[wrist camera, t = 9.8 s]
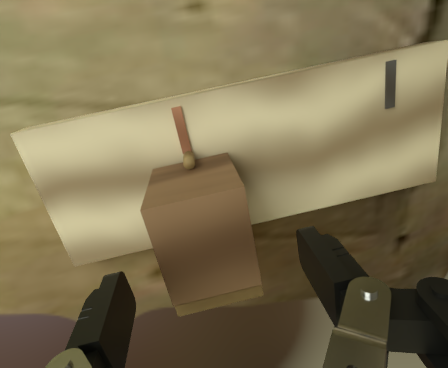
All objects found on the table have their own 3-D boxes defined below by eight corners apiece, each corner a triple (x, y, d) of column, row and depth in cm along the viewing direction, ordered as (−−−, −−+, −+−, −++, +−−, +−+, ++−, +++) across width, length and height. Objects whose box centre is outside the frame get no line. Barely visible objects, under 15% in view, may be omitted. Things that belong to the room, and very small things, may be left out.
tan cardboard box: (151, 153, 20) (135, 196, 13) (222, 137, 20) (241, 171, 14) (179, 247, 23) (178, 321, 16) (241, 232, 23) (265, 299, 17)
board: (26, 127, 19) (8, 134, 17) (425, 42, 21) (452, 39, 19) (83, 250, 23) (73, 268, 21) (416, 172, 25) (437, 182, 23)
